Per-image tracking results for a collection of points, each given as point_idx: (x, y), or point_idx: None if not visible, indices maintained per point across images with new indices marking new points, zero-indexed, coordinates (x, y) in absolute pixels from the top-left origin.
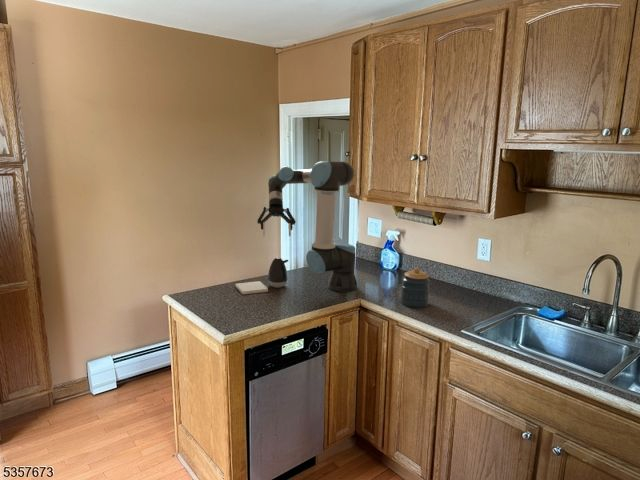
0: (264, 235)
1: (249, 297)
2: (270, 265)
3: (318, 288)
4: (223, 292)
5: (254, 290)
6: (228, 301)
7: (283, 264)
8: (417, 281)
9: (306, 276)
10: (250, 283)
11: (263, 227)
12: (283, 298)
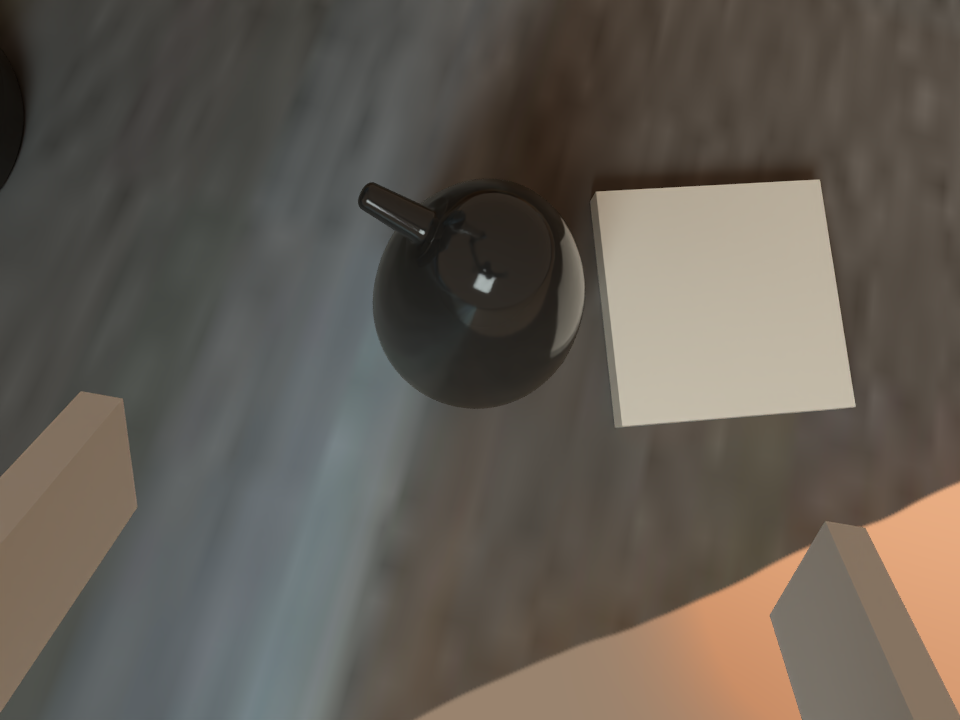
0: (775, 607)
1: (760, 108)
2: (576, 298)
3: (121, 160)
4: (947, 280)
5: (716, 185)
6: (921, 70)
7: (432, 199)
8: None
9: None
10: (722, 378)
11: (946, 704)
12: (506, 12)
